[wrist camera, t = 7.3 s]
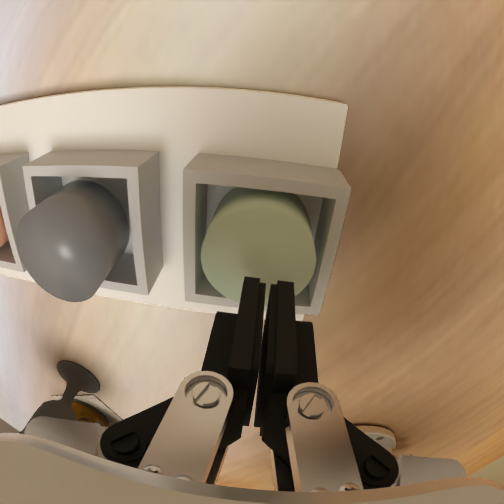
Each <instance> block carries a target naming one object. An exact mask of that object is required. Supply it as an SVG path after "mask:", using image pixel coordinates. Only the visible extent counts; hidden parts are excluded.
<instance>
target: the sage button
mask: <svg viewBox="0 0 504 504" xmlns="http://www.w3.org/2000/svg"><path fill="white" fill-rule="evenodd" d="M201 264H202V268H203V271H204V273H205V275H206V277H207V279H208V281H209V282H210V283H211V285H212V286H213V287H214V288H215V289H216V290H217V291H218V292H220V293H221V294H222V295H224V296H225V297H227V298H229V299H231V300H233V301H235V302H238V303H240V298H241V292H242V287H243V281H244V276H247V277H255V278H260V282H261V283H266V291H265V304H264V306H267V305H268V299H269V293H270V286H271V284H277V281H278V280H280V281H289V282H294V294H295V296H296V295H298V294H299V293H300V292H301V291H302V290H303V289H304V288H305V287H306V286H307V284H308V283H309V282H310V280H311V278H312V276H313V274H314V270H315V266H316V252H315V246H314V241H313V236H312V231H311V226H310V222H309V217H308V213H307V210H306V208H305V206H304V204H303V203H302V201H301V200H300V199H299V197H298V196H297V195H296V194H294V193H286V192H278V191H269V190H260V189H251V188H242V187H235V188H234V189H232V190H231V191H229V192H228V193H227V194H226V195H225V196H224V197H223V198H222V200H221V201H220V203H219V204H218V207H217V209H216V211H215V214H214V216H213V219H212V221H211V223H210V226H209V228H208V231H207V233H206V236H205V238H204V241H203V244H202V248H201Z"/></svg>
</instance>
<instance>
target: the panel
mask: <svg viewBox="0 0 504 504" xmlns="http://www.w3.org/2000/svg"><path fill="white" fill-rule="evenodd" d="M347 109H348V105H347V104H344V103H342V102H338V101H332V100H327V99H321V98H315V97H308V96H301V95H294V94H287V93H278V92H270V91H260V90H249V89H236V88H220V87H194V86H152V87H127V88H111V89H99V90H89V91H79V92H71V93H63V94H56V95H50V96H43V97H37V98H32V99H26V100H21V101H16V102H11V103H7V104H2V105H0V206H1V210H2V215H3V219H4V223H5V227H6V231H7V235H8V239H9V240H8V241H7V242H6V243H5V244H3V245H2V246H1V247H0V274H2V275H6V276H10V277H14V278H18V279H22V280H27V281H31V282H35V280H34V279H33V278H32V277H31V276H30V274H29V273H28V271H27V270H26V268H25V266H24V265H23V263H22V260H21V258H20V255H19V252H18V248H17V242H16V234H17V228H18V224H19V222H20V220H21V219H22V217H23V216H24V215H25V214H26V213H27V212H28V211H30V210H31V209H32V208H34V207H35V206H36V205H38V204H39V203H40V202H42V201H43V200H45V199H46V198H47V197H49V196H50V195H52V194H53V193H54V192H56V191H57V190H59V189H60V188H61V187H63V186H64V185H66V184H68V183H70V182H72V181H76V180H88V181H92V182H95V183H97V184H99V185H101V186H103V187H104V188H106V189H107V190H108V191H110V192H111V193H112V194H113V195H114V196H115V198H116V199H117V200H118V201H119V203H120V204H121V206H122V208H123V209H124V211H125V214H126V216H127V220H128V223H129V233H130V234H129V242H128V245H127V248H126V250H125V251H124V253H123V254H122V256H121V257H120V258H119V260H118V261H117V263H116V264H115V265H114V267H113V268H112V270H111V271H110V273H109V274H108V275H107V277H106V278H105V280H104V281H103V283H102V284H101V286H100V287H99V289H98V290H97V292H96V293H95V294H94V295H98V296H103V297H109V298H114V299H120V300H126V301H131V302H137V303H143V304H150V305H156V306H162V307H169V308H175V309H182V310H189V311H196V312H204V313H211V314H216V312H217V311H220V312H227V313H235V314H238V309H239V303H238V302H235V301H233V300H231V299H229V298H227V297H225V296H224V295H222V294H221V293H220V292H218V291H217V290H216V289H215V288H214V287H213V286H212V285H211V283H210V282H209V281H208V279H207V277H206V275H205V273H204V271H203V268H202V264H201V248H202V244H203V241H204V238H205V236H206V233H207V231H208V228H209V226H210V223H211V221H212V219H213V216H214V214H215V211H216V209H217V207H218V204H219V203H220V201H221V200H222V198H223V197H224V196H225V195H226V194H227V193H228V192H229V191H231V190H232V189H234V188H235V187H242V188H251V189H260V190H269V191H278V192H286V193H294V194H296V195H297V196H298V197H299V199H300V200H301V201H302V203H303V204H304V206H305V208H306V210H307V213H308V217H309V222H310V226H311V231H312V236H313V241H314V246H315V252H316V266H315V270H314V274H313V276H312V278H311V280H310V282H309V283H308V284H307V286H306V287H305V288H304V289H303V290H302V291H301V292H300V293H299V294H298V295H296V296H295V316H296V321H303V318H304V315H313V316H319V313H320V310H321V307H322V303H323V300H324V296H325V293H326V289H327V286H328V282H329V279H330V275H331V271H332V267H333V264H334V260H335V256H336V252H337V248H338V244H339V240H340V236H341V232H342V228H343V224H344V220H345V216H346V211H347V207H348V203H349V198H350V194H351V187H350V185H349V184H348V182H347V181H346V179H345V177H344V176H343V174H342V173H341V171H340V170H339V169H337V167H338V162H339V157H340V151H341V145H342V140H343V134H344V128H345V122H346V115H347ZM35 283H36V282H35ZM266 312H267V306H264V317H263V320H265V318H266Z"/></svg>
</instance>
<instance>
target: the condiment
mask: <svg viewBox="0 0 504 504" xmlns="http://www.w3.org/2000/svg"><path fill="white" fill-rule="evenodd" d="M51 397H52V398H54V399H55V400H60V399H61V398H62V396H51ZM91 404H92V405H91ZM95 406H97V407H95ZM72 409H73V411H74V412H75V414H76V417H77V419H78V421H80V422H89V423H99V425H100V426H102V427H110V426H111V425H113V424H115V423H117V422H119V421H122V419H121V418H119V417H118V416H117V415H116V414H115V413H113V411H112V410H110V409H109V408H107V407H106V406H105V405H104V404H103V403H102V402H101V401H99V400H98V399H97V398H96V397H95V396H94V395H90V396H86V395H84V396H75V398H74V400H73V402H72Z"/></svg>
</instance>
